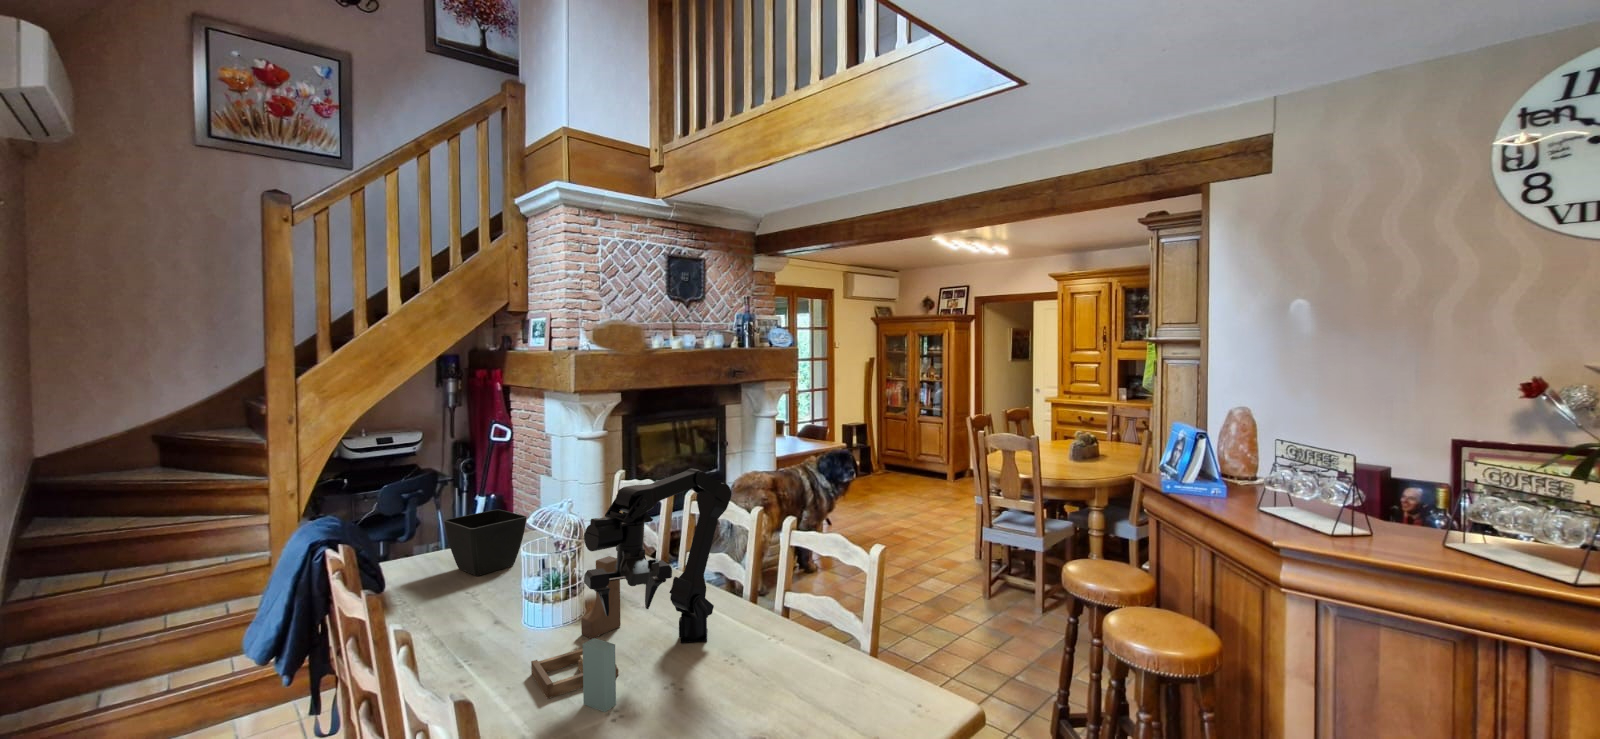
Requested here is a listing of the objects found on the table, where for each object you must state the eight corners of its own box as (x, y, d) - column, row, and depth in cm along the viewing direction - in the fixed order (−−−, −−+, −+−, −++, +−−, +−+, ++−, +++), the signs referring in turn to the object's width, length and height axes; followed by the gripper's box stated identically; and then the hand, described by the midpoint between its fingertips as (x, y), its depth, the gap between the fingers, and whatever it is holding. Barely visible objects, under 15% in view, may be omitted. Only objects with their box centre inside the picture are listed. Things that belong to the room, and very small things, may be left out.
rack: (598, 653, 147) (598, 641, 147) (618, 675, 138) (618, 662, 137) (531, 674, 138) (531, 661, 138) (547, 699, 128) (547, 684, 128)
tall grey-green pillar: (594, 696, 129) (593, 637, 129) (616, 704, 126) (615, 644, 126) (583, 704, 126) (582, 644, 126) (605, 712, 124) (604, 650, 123)
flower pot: (499, 554, 220) (498, 507, 220) (529, 565, 209) (528, 515, 209) (443, 570, 205) (442, 519, 204) (472, 582, 194) (471, 529, 193)
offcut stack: (600, 662, 144) (600, 648, 144) (610, 672, 139) (609, 658, 139) (577, 669, 141) (577, 655, 141) (586, 680, 136) (586, 665, 136)
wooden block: (591, 639, 155) (590, 568, 154) (580, 634, 157) (579, 564, 157) (621, 626, 162) (620, 558, 162) (610, 622, 165) (609, 555, 164)
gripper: (599, 557, 129) (595, 632, 129) (682, 547, 139) (679, 617, 139) (585, 544, 138) (581, 614, 138) (664, 536, 149) (661, 601, 148)
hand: (627, 612), depth 141 cm, fingers open, 9 cm apart
